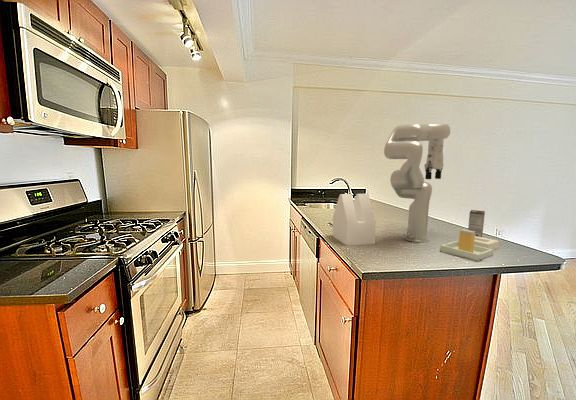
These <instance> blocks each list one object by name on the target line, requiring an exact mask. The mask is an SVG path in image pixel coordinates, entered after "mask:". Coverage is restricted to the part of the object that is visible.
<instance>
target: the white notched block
mask: <svg viewBox="0 0 576 400" xmlns="http://www.w3.org/2000/svg"><path fill="white" fill-rule="evenodd" d="M371 203H372V202H371V199H370V195H369V193H356V194H355V198H353V195H352V194H351V193H342V194H341V193H340V194H339V196H338V199H337V201H336V205H335V208H334V212H333V214H332V237H333V238H335V239H336V240H337V241H340V242H341V243H342V244H344V245H345V246H361V245H362V246H363V245H374V244H376V243H375V241H376V240H375V239H376V219H375V215H374V211H373V206H372V204H371Z"/></svg>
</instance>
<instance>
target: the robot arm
mask: <svg viewBox="0 0 576 400" xmlns="http://www.w3.org/2000/svg"><path fill="white" fill-rule="evenodd" d="M450 135H451V127H450V125H449V124H445V123H439V124H436V123H435V124H434V123H411V124H400V125H396V126H395V127H394V128H393V129H392V132H391V133H390V135H389V137H388V139H387V142H386V143H385V145H384V149H383V154H384V157H385V158H386V159H389V160H406V161H405V162H403V164H402V165H401V167H400V169H396V170H394V171H393V172H392V173H391V174H390V184H391V187H392V190H394V192H395V194H396V195H397V197H399V198H402V199H412V200H413V202H411V203H410V205H409V208H408V219H407V220H408V221H407V231H406V233H404V234H402V238H403V239H404V240H406V241H408V242H412V243H413V242H414V243H427V242H430V240H431V239H430V237H428V236H427V233H428V223H429V222H428V221H429V220H428V219H429V208H430V202H431V196H432V193H433V186H432V185H431V183H429V182H426V181H425V180H432V173H433V172H432V170H435V173H434V174H435V175H434V179H438V180H441V179H442V172H443V169H444V152H443V151H444V142H445V141H444V140H447V139H448V138H449V137H450ZM422 142H428V146H427V154H426V155H427V156H426V161H425V162H426V163H424V166H423V167H424V172H425V177H424V175H423V172H422V171H421V169H420V165H421V162H422V158H423V152H424V149H423V144H422Z"/></svg>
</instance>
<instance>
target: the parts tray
mask: <svg viewBox="0 0 576 400" xmlns="http://www.w3.org/2000/svg"><path fill="white" fill-rule="evenodd" d="M458 248H459V240H455V241H451V242H448V243H443V244H440V248H439V249H440V250H439V252H440V253H445V254H447V255H452V256H455V257H460V258H462V259H465V260H469V261H473V262H477V263H479V262H481V261H482V260H484V259H487V258H489V257H491V256H493V255H494V251H495V249H494V250H493V249H488V248H484V247H480V246H476V245H474V250H473V253H471V252H467V251H463V250H459V249H458Z"/></svg>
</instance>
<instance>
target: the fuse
mask: <svg viewBox="0 0 576 400" xmlns="http://www.w3.org/2000/svg"><path fill="white" fill-rule="evenodd" d="M474 240H475V231H470V230H468V229H465V228H464V229H460V230H459V239H458V242H459V248H458V249H459V250H463V251H467V252H471V253H473V250H474Z"/></svg>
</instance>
